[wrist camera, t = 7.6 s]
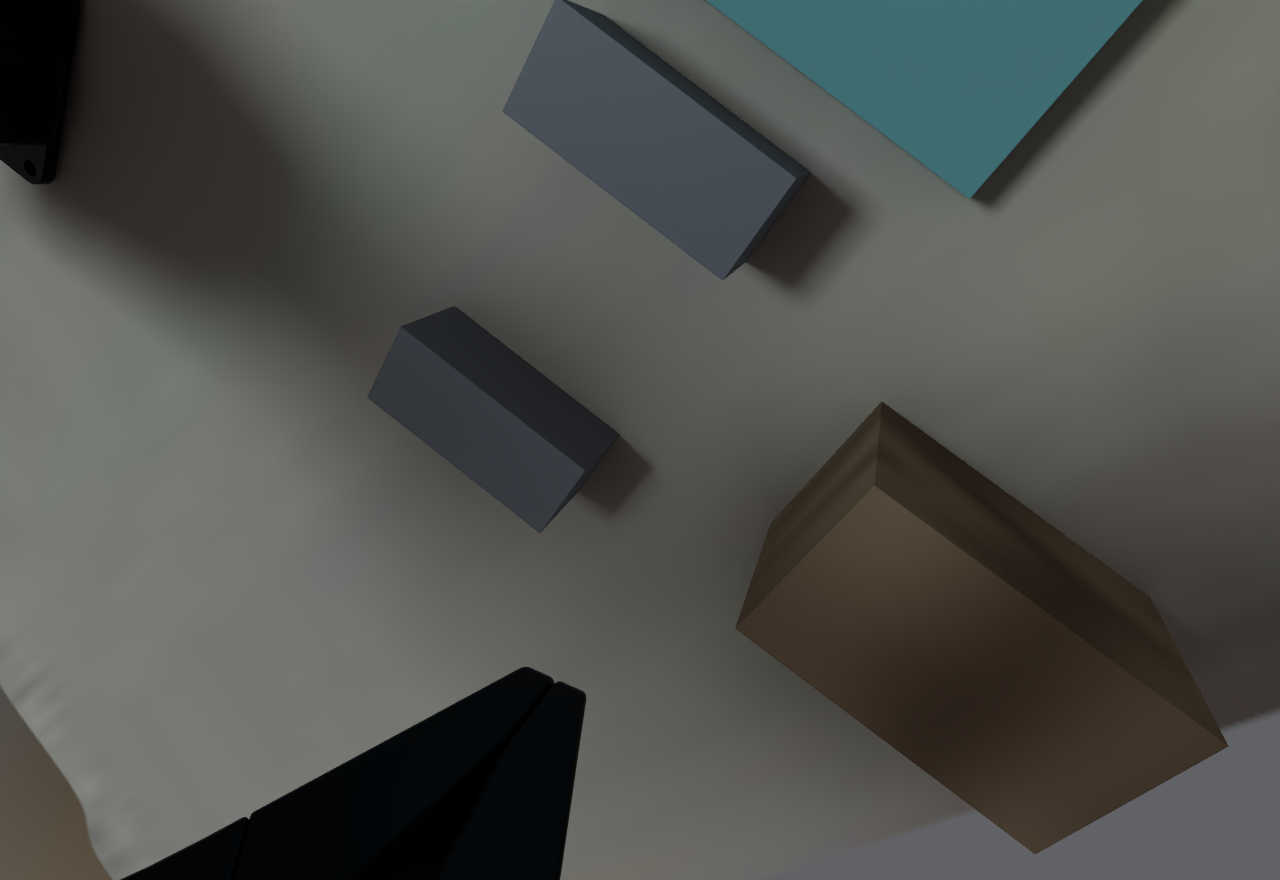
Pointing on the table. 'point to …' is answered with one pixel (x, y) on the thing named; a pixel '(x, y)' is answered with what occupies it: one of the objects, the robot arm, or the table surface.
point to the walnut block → (974, 637)
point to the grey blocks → (642, 181)
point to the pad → (939, 66)
